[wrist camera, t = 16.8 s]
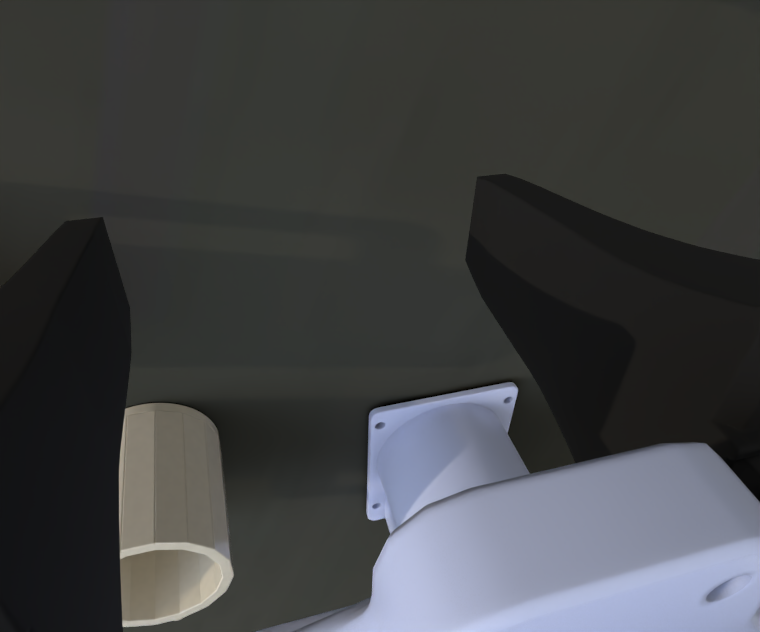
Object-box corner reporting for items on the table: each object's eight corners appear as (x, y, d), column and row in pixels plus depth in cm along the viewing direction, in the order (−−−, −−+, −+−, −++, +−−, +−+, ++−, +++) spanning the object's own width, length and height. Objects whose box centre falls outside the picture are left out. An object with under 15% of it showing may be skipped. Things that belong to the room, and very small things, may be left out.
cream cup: (69, 416, 25) (47, 567, 20) (209, 391, 26) (222, 527, 21) (116, 522, 30) (108, 664, 25) (233, 497, 32) (247, 627, 27)
